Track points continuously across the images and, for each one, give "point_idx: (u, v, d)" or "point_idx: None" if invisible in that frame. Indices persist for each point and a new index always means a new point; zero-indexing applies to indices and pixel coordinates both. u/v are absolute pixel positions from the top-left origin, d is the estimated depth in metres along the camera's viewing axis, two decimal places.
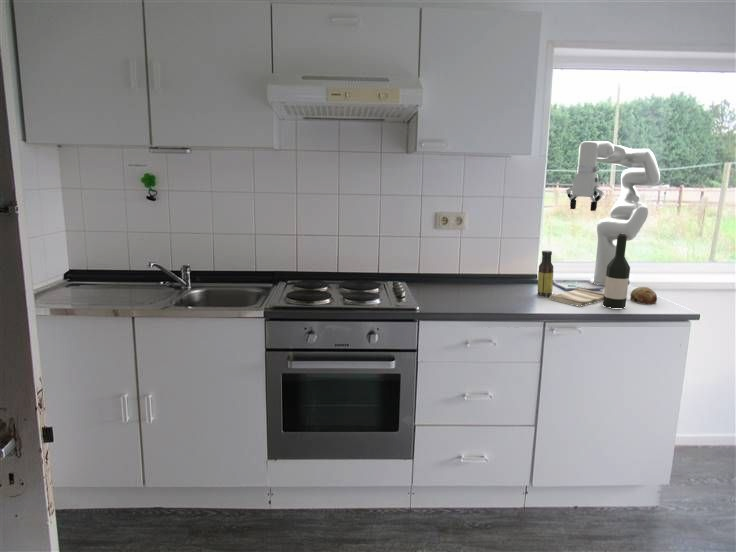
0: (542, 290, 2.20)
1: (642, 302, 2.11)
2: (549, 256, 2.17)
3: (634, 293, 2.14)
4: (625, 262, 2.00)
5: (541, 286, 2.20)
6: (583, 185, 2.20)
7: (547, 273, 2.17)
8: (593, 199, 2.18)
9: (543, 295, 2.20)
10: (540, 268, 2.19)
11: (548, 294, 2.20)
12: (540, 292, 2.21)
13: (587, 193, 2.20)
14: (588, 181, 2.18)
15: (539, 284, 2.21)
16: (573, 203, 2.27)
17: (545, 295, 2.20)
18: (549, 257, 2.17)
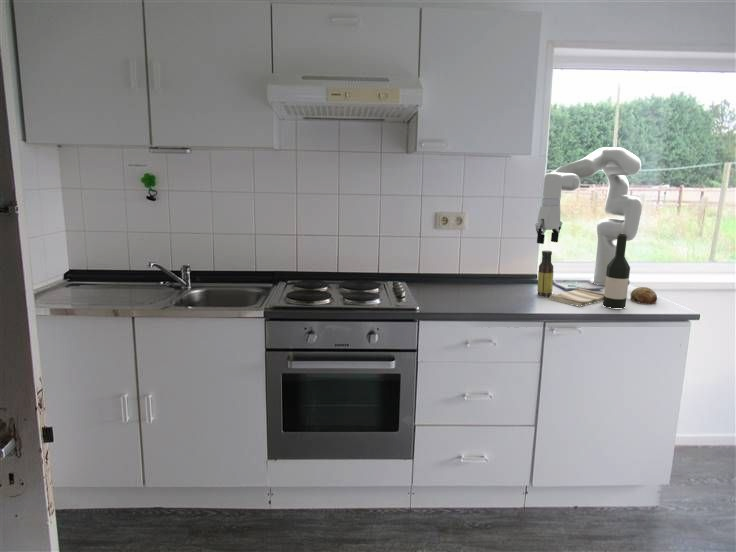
0: (542, 290, 2.20)
1: (642, 302, 2.11)
2: (549, 256, 2.17)
3: (634, 293, 2.14)
4: (625, 262, 2.00)
5: (541, 286, 2.20)
6: (555, 218, 2.15)
7: (547, 273, 2.17)
8: (558, 230, 2.20)
9: (543, 295, 2.20)
10: (540, 268, 2.19)
11: (548, 294, 2.20)
12: (540, 292, 2.21)
13: (557, 225, 2.17)
14: (558, 213, 2.16)
15: (539, 284, 2.21)
16: None
17: (545, 295, 2.20)
18: (549, 257, 2.17)
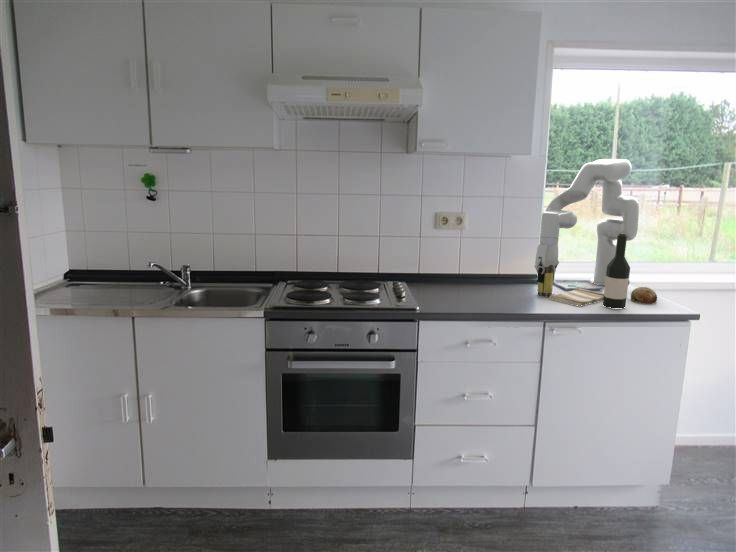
0: (542, 290, 2.20)
1: (642, 302, 2.11)
2: None
3: (634, 293, 2.14)
4: (625, 262, 2.00)
5: (541, 286, 2.20)
6: (553, 255, 2.17)
7: (547, 273, 2.17)
8: (554, 269, 2.21)
9: (543, 295, 2.20)
10: None
11: (548, 294, 2.20)
12: (540, 292, 2.21)
13: (555, 262, 2.19)
14: (556, 251, 2.18)
15: (539, 284, 2.21)
16: None
17: (545, 295, 2.20)
18: None
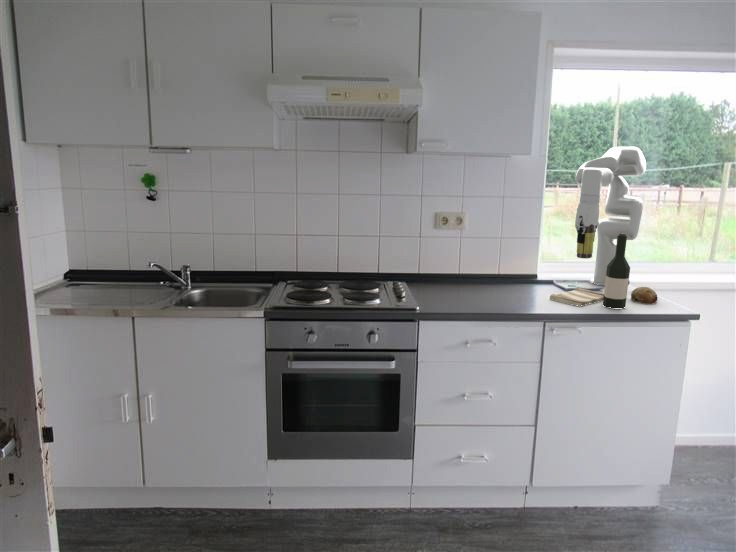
0: (582, 251, 2.11)
1: (643, 302, 2.11)
2: None
3: (635, 293, 2.14)
4: (625, 262, 2.00)
5: (581, 247, 2.11)
6: (594, 215, 2.08)
7: (588, 233, 2.08)
8: (594, 230, 2.12)
9: (583, 256, 2.11)
10: None
11: (588, 255, 2.10)
12: (580, 253, 2.12)
13: (595, 222, 2.10)
14: (597, 210, 2.09)
15: (579, 245, 2.11)
16: None
17: (585, 256, 2.11)
18: None
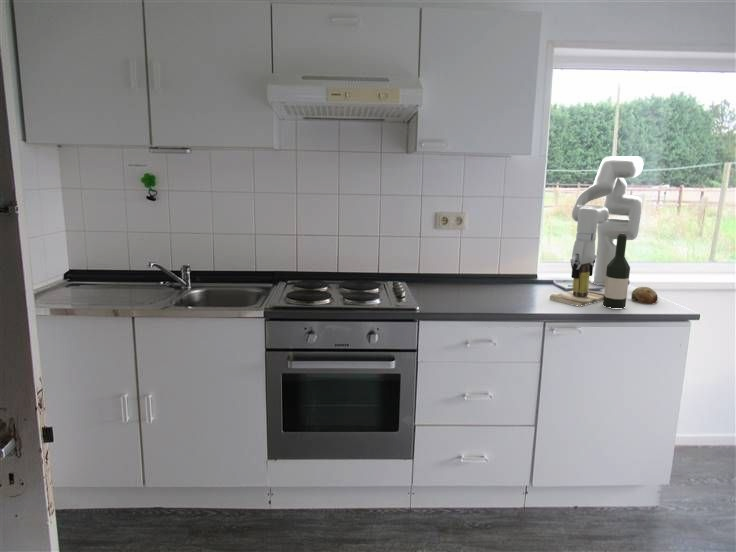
0: (578, 290, 2.14)
1: (643, 302, 2.11)
2: None
3: (635, 293, 2.14)
4: (625, 262, 2.00)
5: (577, 286, 2.14)
6: (590, 252, 2.12)
7: (583, 272, 2.12)
8: (592, 264, 2.16)
9: (579, 295, 2.15)
10: None
11: (584, 294, 2.14)
12: (576, 292, 2.15)
13: (591, 259, 2.14)
14: (593, 247, 2.12)
15: (575, 284, 2.15)
16: None
17: (581, 295, 2.14)
18: None
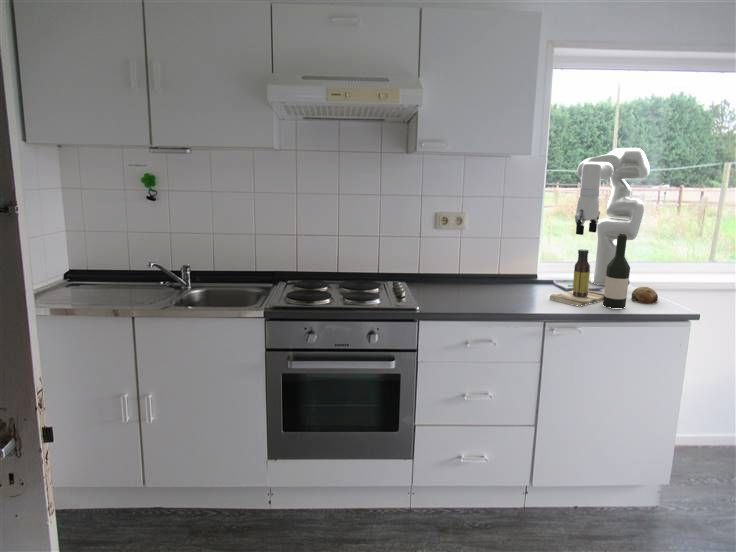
0: (578, 290, 2.14)
1: (643, 302, 2.11)
2: (586, 255, 2.12)
3: (635, 293, 2.14)
4: (625, 262, 2.00)
5: (577, 286, 2.14)
6: (594, 208, 2.13)
7: (583, 272, 2.12)
8: (596, 220, 2.18)
9: (579, 295, 2.15)
10: (576, 267, 2.14)
11: (584, 294, 2.14)
12: (576, 292, 2.15)
13: (595, 215, 2.15)
14: (597, 203, 2.14)
15: (575, 284, 2.15)
16: None
17: (581, 295, 2.14)
18: (586, 256, 2.12)
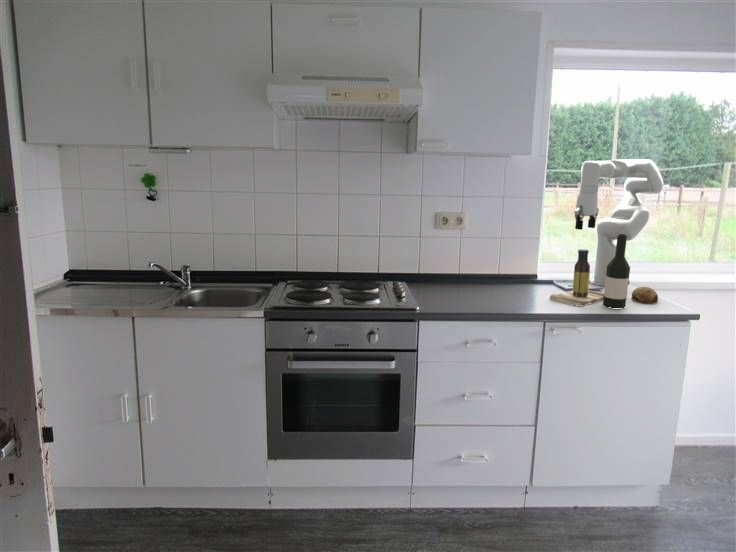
0: (578, 290, 2.14)
1: (643, 302, 2.11)
2: (586, 255, 2.12)
3: (635, 293, 2.15)
4: (625, 262, 2.00)
5: (577, 286, 2.14)
6: (593, 204, 2.24)
7: (583, 272, 2.12)
8: (595, 217, 2.29)
9: (579, 295, 2.15)
10: (576, 267, 2.14)
11: (584, 294, 2.14)
12: (576, 292, 2.15)
13: (594, 211, 2.26)
14: (596, 200, 2.25)
15: (575, 284, 2.15)
16: None
17: (581, 295, 2.14)
18: (586, 256, 2.12)
